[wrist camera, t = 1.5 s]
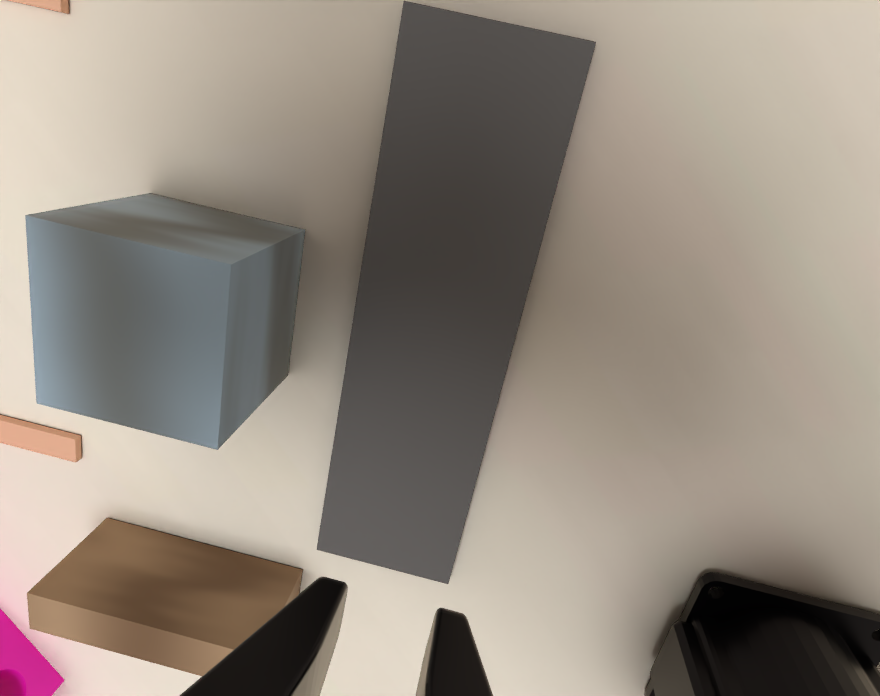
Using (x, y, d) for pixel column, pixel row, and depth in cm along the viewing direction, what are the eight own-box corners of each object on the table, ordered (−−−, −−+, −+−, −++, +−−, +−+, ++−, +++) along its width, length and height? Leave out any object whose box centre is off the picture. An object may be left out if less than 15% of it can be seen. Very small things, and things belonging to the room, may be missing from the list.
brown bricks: (409, -144, 14) (369, -240, 11) (298, 600, 23) (255, 690, 19) (99, -207, 15) (-45, -320, 11) (107, 549, 24) (29, 628, 20)
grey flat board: (594, 44, 15) (596, 42, 15) (449, 576, 22) (448, 584, 21) (406, 4, 15) (404, 0, 15) (320, 542, 22) (316, 549, 22)
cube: (306, 229, 18) (231, 264, 13) (288, 374, 20) (217, 449, 15) (151, 193, 18) (25, 215, 14) (148, 339, 20) (36, 403, 15)
